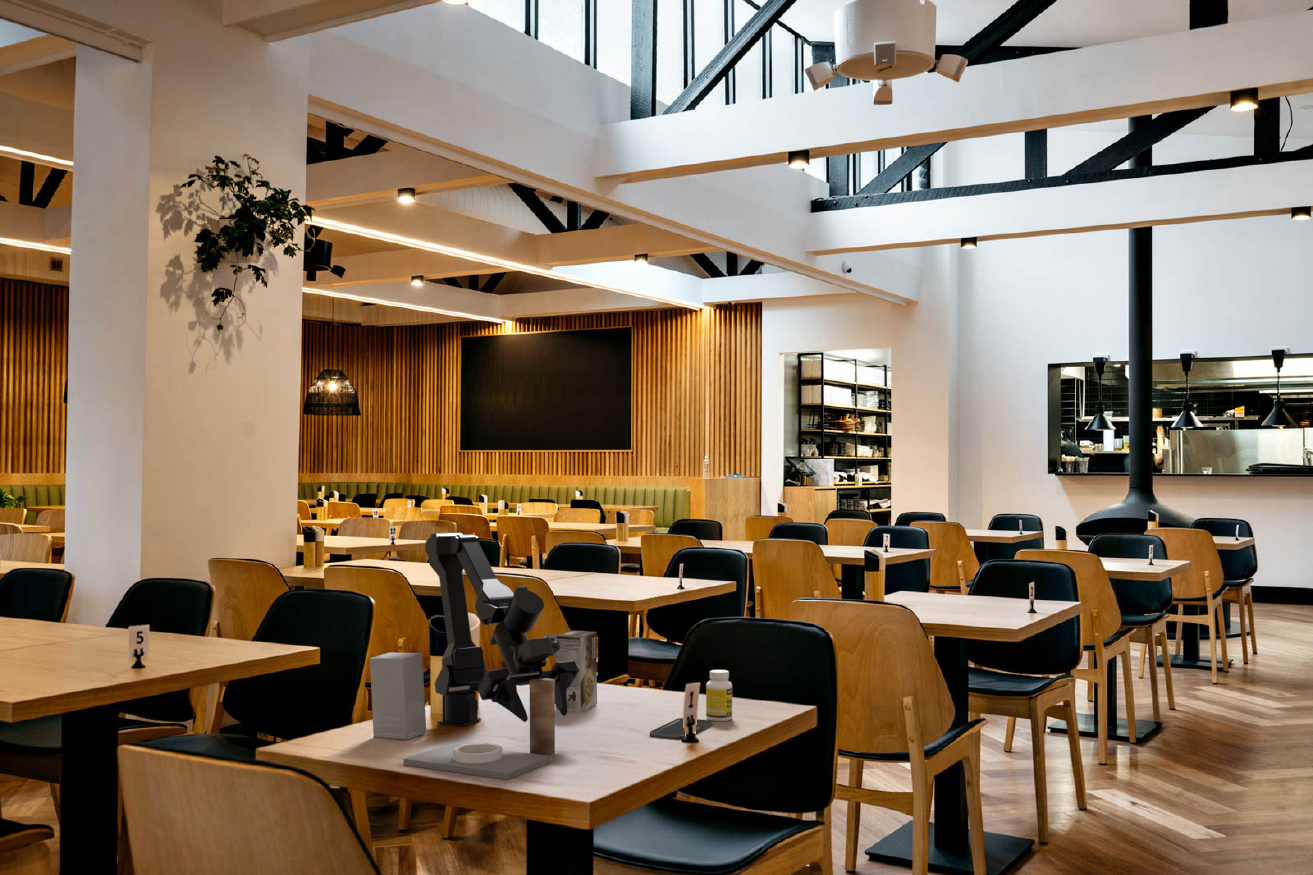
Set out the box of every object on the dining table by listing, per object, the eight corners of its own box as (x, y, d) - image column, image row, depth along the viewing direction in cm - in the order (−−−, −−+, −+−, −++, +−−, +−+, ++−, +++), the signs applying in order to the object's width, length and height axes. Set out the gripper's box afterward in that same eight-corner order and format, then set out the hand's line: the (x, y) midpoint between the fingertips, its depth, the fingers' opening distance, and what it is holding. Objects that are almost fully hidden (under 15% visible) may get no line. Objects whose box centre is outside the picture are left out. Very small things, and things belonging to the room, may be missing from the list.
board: (403, 764, 187) (403, 749, 187) (451, 748, 199) (451, 734, 199) (507, 779, 177) (507, 764, 177) (551, 761, 188) (551, 747, 188)
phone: (647, 732, 208) (679, 717, 221) (647, 738, 207) (679, 723, 221) (685, 736, 204) (715, 720, 218) (685, 742, 204) (715, 726, 218)
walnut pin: (524, 754, 194) (524, 681, 194) (539, 749, 198) (538, 677, 198) (545, 757, 192) (545, 683, 192) (559, 752, 196) (559, 679, 196)
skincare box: (427, 734, 211) (427, 652, 212) (403, 742, 204) (404, 657, 205) (392, 730, 214) (392, 650, 215) (368, 738, 208) (368, 655, 209)
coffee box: (571, 702, 241) (571, 630, 242) (597, 704, 239) (597, 631, 240) (553, 710, 233) (553, 635, 234) (581, 712, 231) (581, 636, 232)
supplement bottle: (730, 722, 220) (730, 673, 220) (704, 721, 221) (703, 672, 221) (734, 716, 225) (733, 669, 226) (708, 715, 226) (707, 668, 227)
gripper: (485, 624, 193) (516, 696, 184) (574, 617, 204) (607, 684, 195) (465, 664, 199) (494, 735, 190) (552, 654, 210) (583, 721, 201)
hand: (546, 717), depth 194 cm, fingers open, 8 cm apart
